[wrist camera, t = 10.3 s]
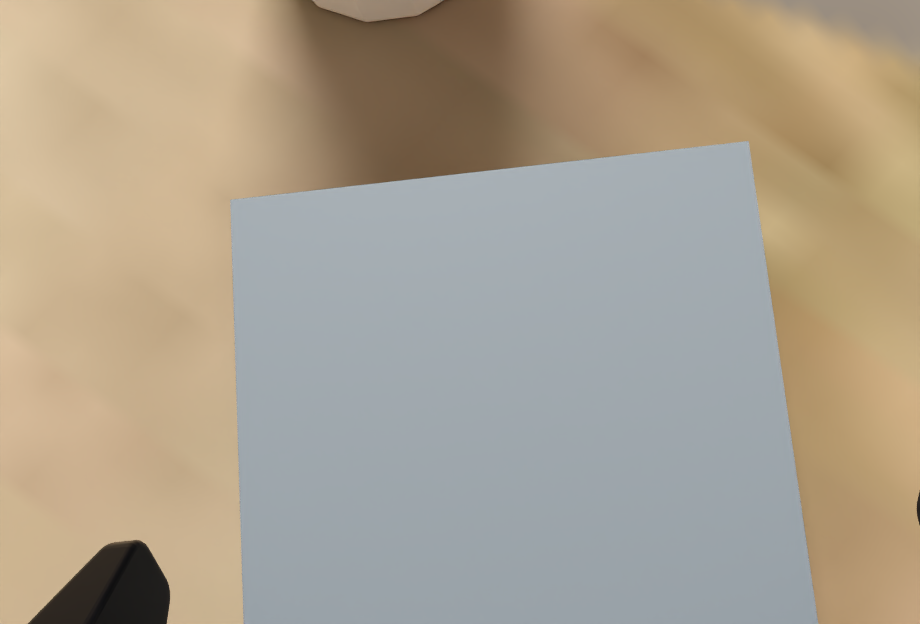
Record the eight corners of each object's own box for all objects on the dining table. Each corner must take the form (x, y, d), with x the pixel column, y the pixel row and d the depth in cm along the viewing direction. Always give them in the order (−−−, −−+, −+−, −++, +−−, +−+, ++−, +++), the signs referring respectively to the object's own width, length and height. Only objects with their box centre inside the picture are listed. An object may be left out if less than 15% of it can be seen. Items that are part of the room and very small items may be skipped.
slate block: (689, 576, 17) (832, 714, 8) (402, 595, 18) (247, 740, 9) (654, 291, 18) (747, 140, 9) (384, 317, 19) (230, 199, 10)
